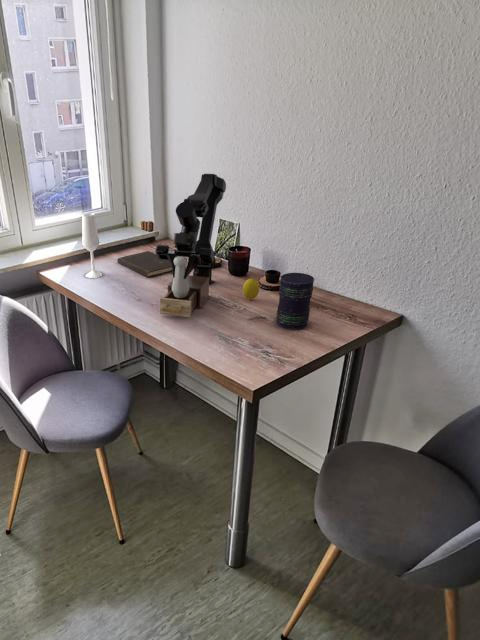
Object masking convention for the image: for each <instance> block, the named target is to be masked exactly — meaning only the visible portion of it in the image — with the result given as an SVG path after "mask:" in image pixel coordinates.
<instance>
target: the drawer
mask: <svg viewBox="0 0 480 640" xmlns="http://www.w3.org/2000/svg"><path fill="white" fill-rule="evenodd" d="M196 305H197V291H193V290H189V292H188V294H187V296H186V297H184V298H177V297H175V296H174V294H173V291H172V289H171V290H170V291H169V292H168V291H167V293H166V295H164V297H160V299H159V314H160V315H167V316H174V317H175V316H176V317H183V318H184V317H185V318H191V317H192V312H193V310H194V309H196V308H195V306H196Z"/></svg>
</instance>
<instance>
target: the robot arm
mask: <svg viewBox="0 0 480 640" xmlns="http://www.w3.org/2000/svg"><path fill="white" fill-rule="evenodd" d="M226 190H227V183H226V181H225V179H224V178H222V177H220V176H218V175H217V174H215V173H202V174H201V178H200V181H199V183H198V185H197V187H196V189H195V191H194V193H193V194H191V195H188V196H187V198H184V199H183V201H182V202H180V203H179V204H178V205H177V206H176V207H175V214H176V216H177V219H178V221H179V224H180V225H181V230H180V232H173V241H172V244H174V248H170V246H169V244H168V245H167V244H157V246H156V247H155V250H154V252H155V254H157V256H158V258H159V259H161V260H169V261H170V262H171V264H172V271H171V272H172V278H173V279H174V276H175V268H176V265H174V259H175V258H176V257H179V256H183V257H186V258H187V264H186V270H185V274H184V279H186V278H187V277H188V275H190V274H191V273H192V276H201V277H209V285H210V284H214V283H215V281H214V280H212V276H213V275H212V274H213V273H212V271H213V269H216V268H217V267H216V265H217V262H216V261H217V260H216V256H215V253H214V249H213V246H212V243H211V242H212V236H213V230H214V224H215V220H216V213H217V207H218V204H219V203H220V202H221V201H222V200H223V198H224V195H225V194H224V193H226ZM199 218H201V221H200V219H199Z"/></svg>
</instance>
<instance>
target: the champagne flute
mask: <svg viewBox="0 0 480 640" xmlns="http://www.w3.org/2000/svg"><path fill="white" fill-rule="evenodd" d="M81 221H82V222H81V239H82V243H81V244H82V247H84V249H86V250H87V251H89V253H90V265H91V271H89V272H87V274H85V277H86V278H89V279H96V278H97V279H98V278H100V277H102V276H103V273H101V272H100V271H97V270H96V268H95V256H94V252H95V251H96V250H97V248H98V247H99V245H100V238H99V232H98V227H97V226H98V225H97V221H96V215H95V213H92V212H86V213H82V214H81Z"/></svg>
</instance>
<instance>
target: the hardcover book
mask: <svg viewBox="0 0 480 640" xmlns="http://www.w3.org/2000/svg"><path fill="white" fill-rule="evenodd" d="M117 264H119V265H121V266H124V267H126V268H127V269H130V270H132V271H134V272H135V273H138V274H140V275H142V276H143V277H146V278H153V277H156V276H160V275H163V274H167V273H171V272H172V264H171V262H170V261H169V260H161V259H159V258H158V256H157V254H156V253H154V252H153V251H149V250H146V251H142V252H137V253H134V254H129V255H125V256H121V257H118V258H117Z"/></svg>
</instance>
